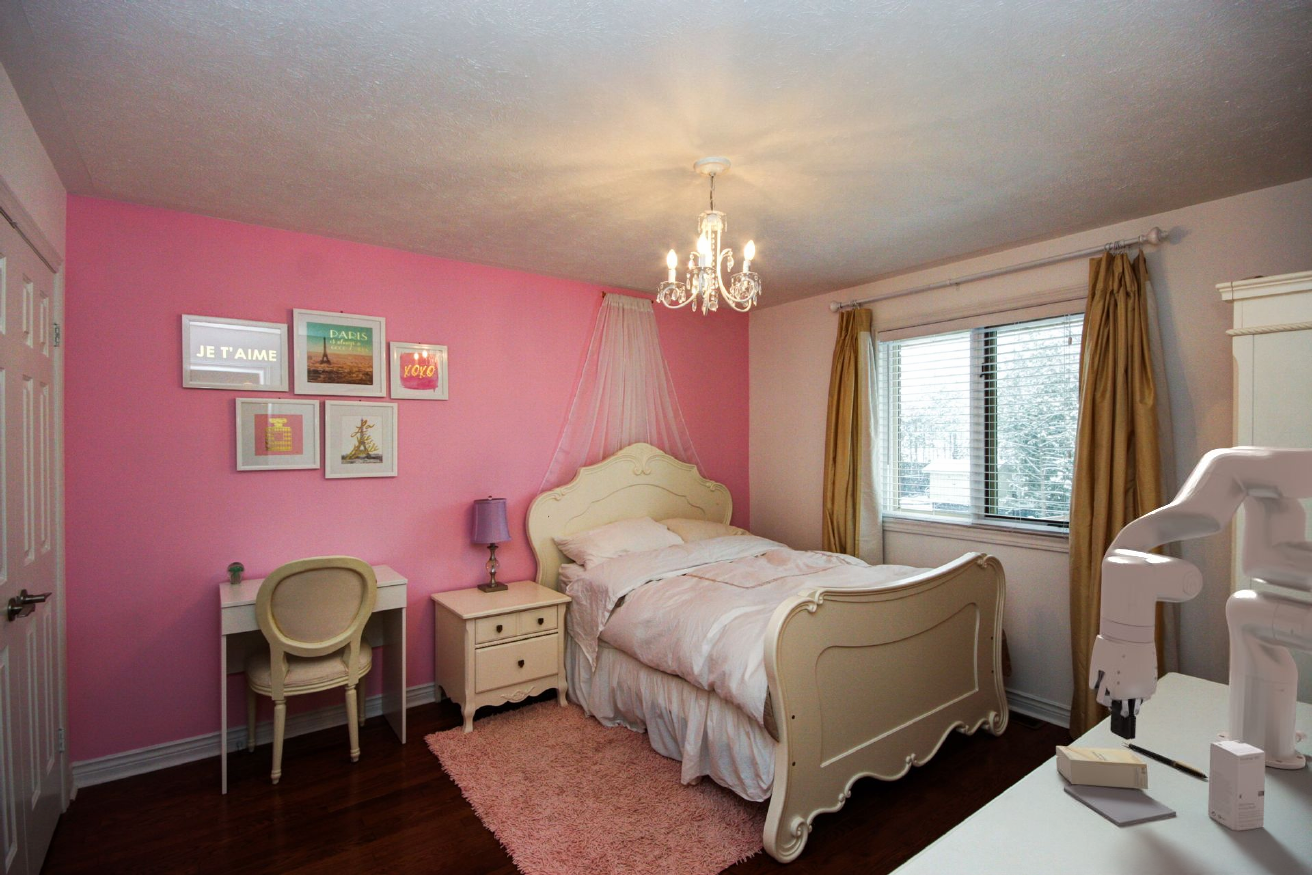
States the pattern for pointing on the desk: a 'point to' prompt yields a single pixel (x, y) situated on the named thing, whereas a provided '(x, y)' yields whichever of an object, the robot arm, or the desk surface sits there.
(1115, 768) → the skincare box
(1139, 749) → the fountain pen
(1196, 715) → the desk surface
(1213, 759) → the skincare box
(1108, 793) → the mat
